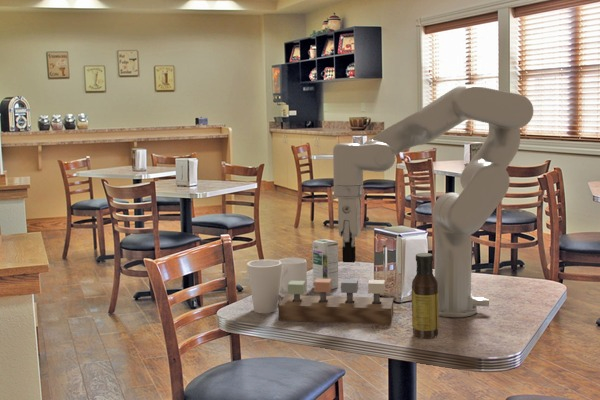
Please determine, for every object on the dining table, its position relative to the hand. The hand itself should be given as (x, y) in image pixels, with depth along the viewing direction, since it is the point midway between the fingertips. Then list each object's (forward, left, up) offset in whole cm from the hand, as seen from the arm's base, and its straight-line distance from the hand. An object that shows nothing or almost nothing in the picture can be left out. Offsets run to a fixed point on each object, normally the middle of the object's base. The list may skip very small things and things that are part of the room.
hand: (349, 261), depth 193 cm
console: (+3, 0, -15) cm, 15 cm away
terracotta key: (+7, 0, -11) cm, 13 cm away
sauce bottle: (-20, +13, -15) cm, 28 cm away
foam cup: (+23, -4, -15) cm, 28 cm away
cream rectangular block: (-7, 0, -11) cm, 13 cm away
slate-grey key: (0, 0, -11) cm, 11 cm away
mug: (+19, -18, -15) cm, 30 cm away
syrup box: (+10, -29, -15) cm, 34 cm away
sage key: (+14, 0, -12) cm, 18 cm away
